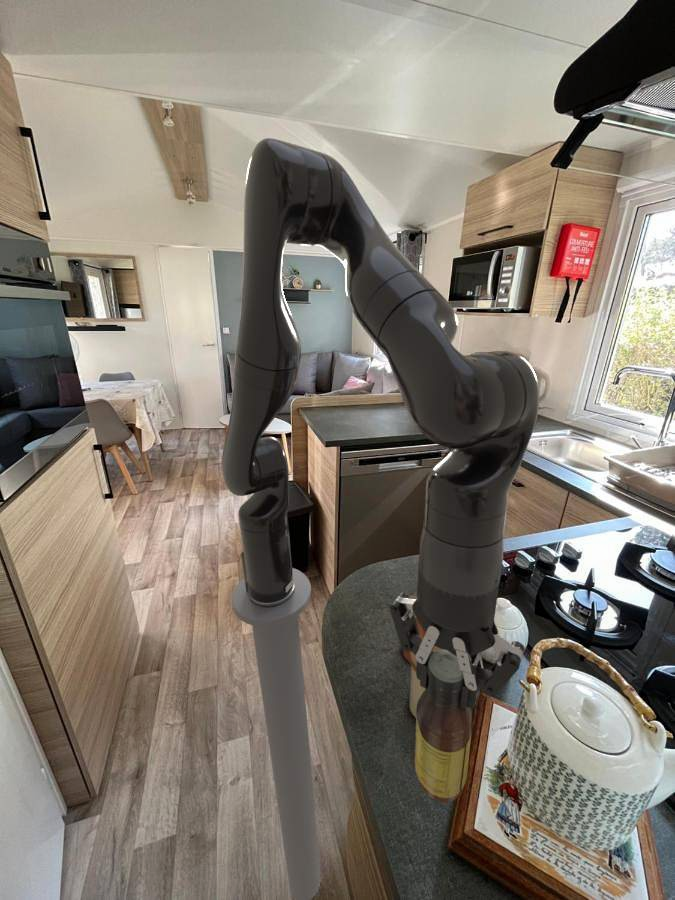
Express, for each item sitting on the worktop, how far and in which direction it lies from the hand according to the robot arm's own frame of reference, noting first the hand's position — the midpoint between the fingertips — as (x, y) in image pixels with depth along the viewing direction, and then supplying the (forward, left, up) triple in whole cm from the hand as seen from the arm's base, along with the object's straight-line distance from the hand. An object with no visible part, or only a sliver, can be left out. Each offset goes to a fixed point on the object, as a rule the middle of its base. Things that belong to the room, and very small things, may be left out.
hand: (445, 691), depth 43 cm
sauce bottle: (0, 0, -15) cm, 15 cm away
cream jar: (-5, +8, -16) cm, 18 cm away
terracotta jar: (-10, +16, -16) cm, 24 cm away
